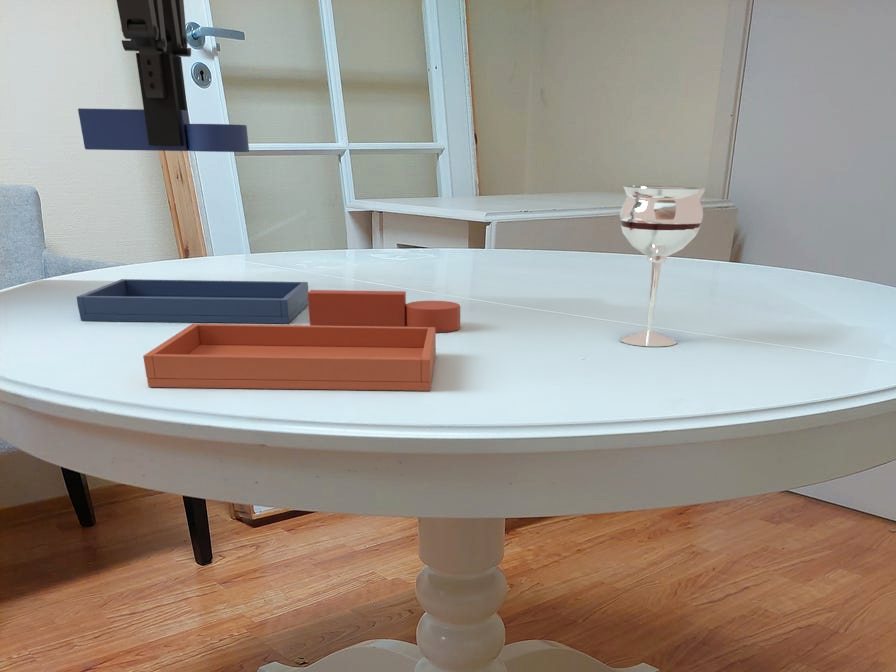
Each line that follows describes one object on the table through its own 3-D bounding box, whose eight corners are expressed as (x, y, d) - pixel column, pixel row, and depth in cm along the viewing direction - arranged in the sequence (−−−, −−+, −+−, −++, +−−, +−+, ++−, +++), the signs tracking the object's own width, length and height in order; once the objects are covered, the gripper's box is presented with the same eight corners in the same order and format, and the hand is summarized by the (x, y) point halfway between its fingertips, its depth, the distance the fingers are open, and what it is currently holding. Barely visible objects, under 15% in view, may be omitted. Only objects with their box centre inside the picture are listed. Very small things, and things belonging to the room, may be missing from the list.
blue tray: (80, 320, 82) (75, 296, 81) (125, 300, 92) (121, 279, 91) (289, 323, 82) (287, 299, 81) (309, 303, 93) (307, 281, 92)
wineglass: (695, 338, 79) (715, 187, 73) (675, 351, 74) (695, 190, 68) (623, 331, 82) (636, 184, 76) (598, 343, 76) (610, 187, 70)
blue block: (77, 149, 74) (69, 107, 72) (99, 149, 78) (92, 109, 77) (241, 152, 74) (237, 110, 72) (254, 151, 78) (251, 112, 77)
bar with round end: (307, 330, 79) (304, 295, 78) (315, 321, 84) (313, 287, 82) (460, 333, 79) (460, 297, 78) (460, 323, 84) (460, 289, 82)
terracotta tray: (148, 387, 60) (142, 355, 59) (195, 351, 71) (192, 323, 70) (430, 391, 61) (429, 359, 60) (435, 354, 71) (435, 327, 70)
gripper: (139, -266, 58) (190, 146, 69) (201, -191, 71) (235, 146, 82) (23, -269, 58) (94, 144, 69) (107, -193, 71) (154, 144, 82)
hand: (170, 145), depth 76 cm, fingers closed on blue block, 2 cm apart
